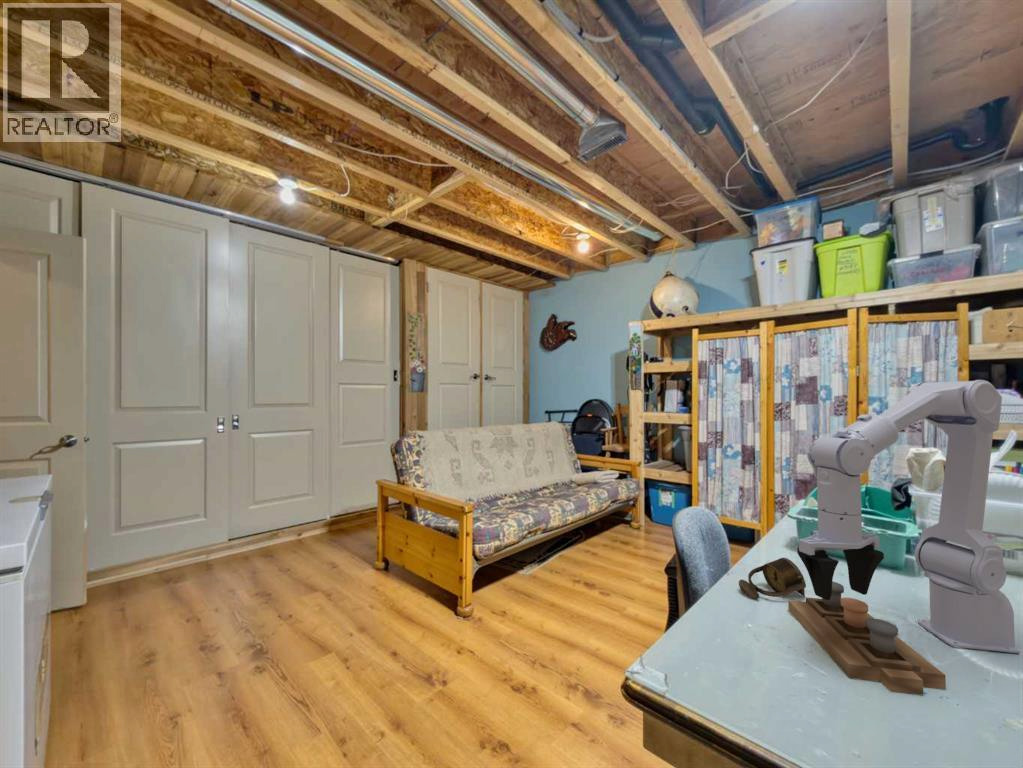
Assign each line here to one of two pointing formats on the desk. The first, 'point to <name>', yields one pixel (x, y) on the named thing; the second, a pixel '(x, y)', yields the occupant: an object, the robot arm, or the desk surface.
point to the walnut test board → (865, 650)
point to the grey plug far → (835, 595)
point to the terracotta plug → (854, 612)
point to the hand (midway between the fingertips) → (840, 594)
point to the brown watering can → (776, 579)
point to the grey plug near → (882, 635)
